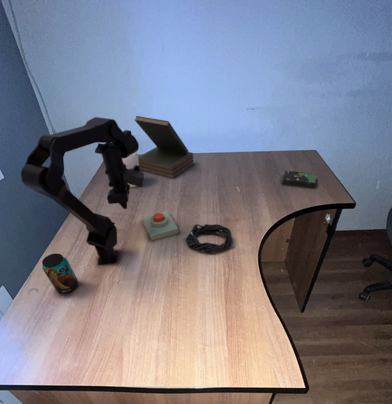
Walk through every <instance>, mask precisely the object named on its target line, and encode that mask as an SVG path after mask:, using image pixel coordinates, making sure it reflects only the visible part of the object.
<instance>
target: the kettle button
mask: <svg viewBox="0 0 392 404" xmlns="http://www.w3.org/2000/svg"><path fill="white" fill-rule="evenodd" d="M153 214H154V216H153V217H154V221H155V222H162V221H163V220H164V215H163V214H162V213H161V212H156V213H153Z"/></svg>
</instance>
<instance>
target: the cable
mask: <svg viewBox="0 0 392 404" xmlns="http://www.w3.org/2000/svg"><path fill="white" fill-rule="evenodd" d="M200 233H201V234H205V235H211V234H214V235H222V236H224V242H223V243H221V244H217V243H211V242H207V241H206V242H205V241H204V242H200V241H199V240H198V238H197V237H196V236H197V235H198V234H200ZM185 242H186V244H187V247H191V248H193V249H194V250H198V251H201V252H202V253H205V254H211V253H218V252H221V251H224V250H226V249H230V248H231V247H232V245H233V236H232V231H231V230H230V229H229V228H228V227H227V226H223V225H221V224H218V223H217V224H208V223H205V224H203V225H200V223H199V224H198V223H196V224H194V225H193V226H192V229H191V231H190V232H189V234H188V235H187V237H186V238H185Z"/></svg>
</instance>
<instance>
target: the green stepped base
mask: <svg viewBox="0 0 392 404" xmlns="http://www.w3.org/2000/svg"><path fill="white" fill-rule="evenodd" d="M160 213H162V214H163V215H164V220H163V221H162V222H155V221H154V217H153V216H154V214H155V213H152V214H148V215H145V216H141V219H142V220H141V221H142V223H143V225H144V227H145V229H146V231H147V234H148V236H149V238H150V240H151V241H155V240H159V239H162V238H167V237H170V236H173V235H178V234H180V230H179V227H178V226H177V224H176V222H175V221H174V219H173V217H172V216H171V214H170V212H169V211H168V210H165V211H161V212H160Z"/></svg>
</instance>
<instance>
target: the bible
mask: <svg viewBox="0 0 392 404" xmlns="http://www.w3.org/2000/svg"><path fill="white" fill-rule="evenodd" d="M134 121H135V123H136V124H137V125H138V126H139V128H140V129H141V130H142V131H143V132H144V133H145V135H147V137H148V138H149V139H150V140H151V142H152V143H153V144H154V145H155V146H156V147H154V148H151V149H150V150H148V151H146V152H144V153H142V154H141V155H139V156H138V159H139V166H140V169H141V172H142V171H143V172H147V173H150V174H153V175H158V176H162V177H165V178H169V179H175V178H176V177H177V176H179V175H180V174H182V173H184V172H185V171H186V170H188V169H189V168H191V167H192V166H194V152H191V151H189V149H188V148H187V145H185V143H184V142H183V140H182V139H181V138H180V136H179V135H178V133H177V132H176V130H175V128H174V127H173V126H172V124H171V122H170V121H169V120H163V119H158V118H152V117H145V116H139V115H135V118H134Z"/></svg>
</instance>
